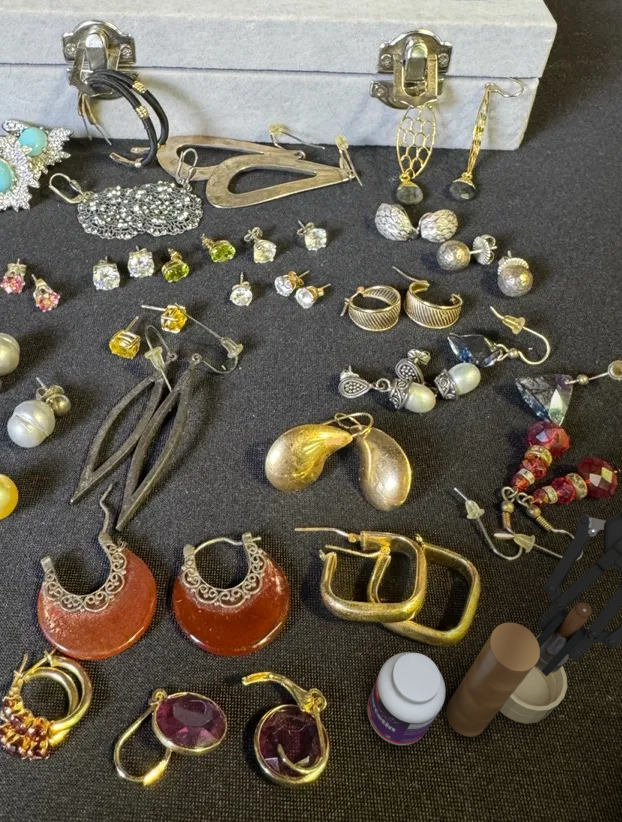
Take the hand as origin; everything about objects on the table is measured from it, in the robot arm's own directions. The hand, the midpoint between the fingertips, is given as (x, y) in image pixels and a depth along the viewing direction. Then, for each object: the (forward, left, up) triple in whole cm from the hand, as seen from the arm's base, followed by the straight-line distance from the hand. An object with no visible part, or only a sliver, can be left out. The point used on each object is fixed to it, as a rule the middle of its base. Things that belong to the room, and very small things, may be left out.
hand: (537, 662), depth 92 cm
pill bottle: (+11, +7, -17) cm, 22 cm away
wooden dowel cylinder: (+4, +3, -17) cm, 18 cm away
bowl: (-1, -4, -17) cm, 17 cm away
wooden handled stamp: (-1, -4, -5) cm, 6 cm away
